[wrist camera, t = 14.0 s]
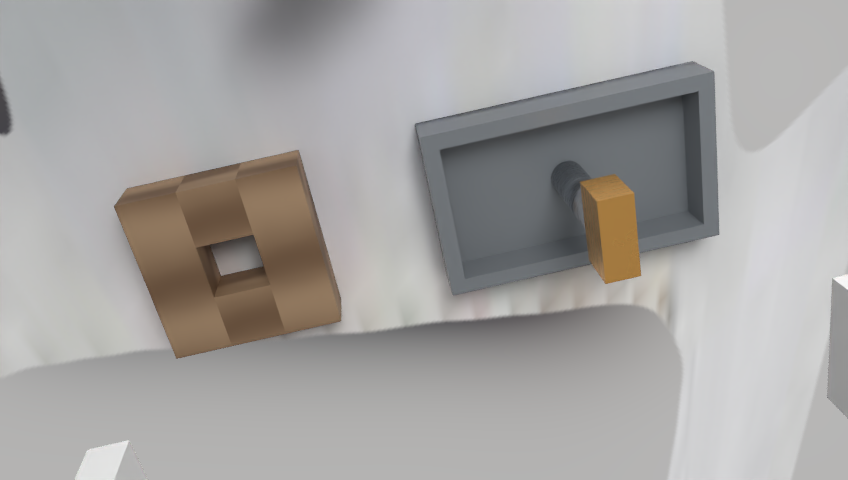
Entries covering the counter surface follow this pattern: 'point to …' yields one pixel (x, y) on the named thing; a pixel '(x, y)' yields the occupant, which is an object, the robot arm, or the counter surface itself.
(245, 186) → the block
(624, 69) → the counter surface
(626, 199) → the tall wooden block
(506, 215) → the parts tray
